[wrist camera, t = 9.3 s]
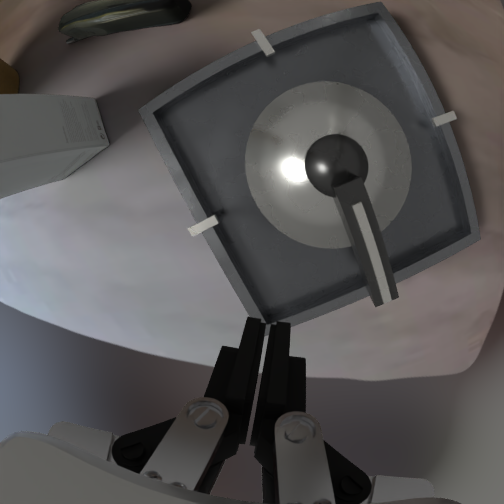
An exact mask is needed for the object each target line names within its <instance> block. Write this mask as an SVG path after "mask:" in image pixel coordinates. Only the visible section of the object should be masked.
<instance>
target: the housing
mask: <svg viewBox="0 0 504 504" xmlns="http://www.w3.org/2000/svg"><path fill="white" fill-rule="evenodd" d="M251 34H252V35H253V37H254V38H255V40H256V41H255V42H252V43H250V44H248V45H246V46H244V47H242V48H240V49H238V50H235V51H233V52H231V53H229V54H227V55H226V56H224V57H222V58H220V59H218V60H216V61H214V62H212V63H211V64H209V65H207V66H205V67H203V68H202V69H200V70H198V71H196V72H195V73H193V74H191V75H190V76H188V77H186V78H185V79H183V80H182V81H180V82H178V83H177V84H175V85H174V86H172V87H171V88H169V89H167V90H166V91H164V92H163V93H161V94H160V95H159V96H157V97H156V98H154V99H153V100H151V101H150V102H148V103H147V104H146V105H144V106H143V107H142V108H140V109H139V110H138V111H139V113H140V115H141V117H142V119H143V121H144V123H145V125H146V127H147V129H148V131H149V133H150V135H151V137H152V139H153V141H154V143H155V145H156V147H157V149H158V151H159V153H160V155H161V157H162V159H163V161H164V163H165V164H166V166H167V168H168V170H169V172H170V174H171V176H172V178H173V180H174V182H175V184H176V186H177V187H178V189H179V191H180V193H181V195H182V197H183V199H184V201H185V202H186V204H187V206H188V208H189V210H190V212H191V214H192V215H193V217H194V219H195V221H196V223H197V224H195V225H194V226H192V227H190V228H188V230H189V231H190V233H191V235H192V237H193V236H195V235H197V234H199V233H201V232H202V234H203V236H204V237H205V239H206V241H207V243H208V245H209V246H210V248H211V250H212V252H213V253H214V255H215V257H216V259H217V261H218V262H219V264H220V266H221V268H222V269H223V271H224V273H225V275H226V276H227V278H228V280H229V282H230V283H231V285H232V287H233V289H234V290H235V292H236V294H237V296H238V297H239V299H240V301H241V302H242V304H243V306H244V308H245V309H246V311H247V313H248V314H249V316H250V317H253V318H260V319H261V322H262V323H266V329H265V335H264V336H267V335H269V332H270V326H271V324H275V325H276V322H277V321H280V322H288V323H291V327H292V326H295V325H298V324H300V323H303V322H306V321H308V320H311V319H314V318H316V317H319V316H321V315H324V314H326V313H329V312H331V311H334V310H336V309H339V308H341V307H344V306H346V305H349V304H351V303H353V302H356V301H358V300H360V299H363V298H365V297H367V296H370V295H369V293H368V291H367V289H366V287H365V285H364V281H363V278H362V275H361V272H360V269H359V266H358V263H357V260H356V258H355V255H354V252H353V249H352V246H350V247H345V248H336V249H328V248H318V247H313V246H309V245H306V244H303V243H300V242H298V241H296V240H293V239H291V238H290V237H288V236H286V235H285V234H283V233H282V232H280V231H279V230H278V229H277V228H276V227H274V226H273V225H272V224H271V223H270V222H269V221H268V220H267V219H266V217H265V216H264V215H263V213H262V212H261V211H260V209H259V208H258V206H257V204H256V202H255V201H254V199H253V196H252V194H251V191H250V189H249V185H248V181H247V177H246V169H245V154H246V147H247V142H248V139H249V135H250V132H251V130H252V128H253V126H254V123H255V122H256V120H257V119H258V117H259V115H260V114H261V113H262V111H263V110H264V109H265V108H266V107H267V105H269V104H270V103H271V102H272V101H273V100H274V99H275V98H277V97H278V96H280V95H281V94H283V93H284V92H286V91H288V90H290V89H292V88H294V87H297V86H300V85H303V84H306V83H312V82H323V81H330V82H339V83H344V84H348V85H351V86H354V87H356V88H359V89H361V90H363V91H365V92H367V93H369V94H371V95H372V96H373V97H375V98H376V99H378V100H379V101H380V102H381V103H382V104H383V105H385V106H386V107H387V108H388V109H389V111H390V112H391V113H392V114H393V115H394V117H395V118H396V120H397V121H398V123H399V124H400V126H401V128H402V130H403V132H404V134H405V136H406V139H407V142H408V145H409V149H410V154H411V163H412V173H411V182H410V187H409V191H408V194H407V197H406V200H405V202H404V204H403V206H402V208H401V210H400V211H399V213H398V214H397V216H396V217H395V218H394V220H393V221H392V222H391V223H390V224H389V225H388V226H387V227H386V228H385V229H384V230H383V231H381V234H382V237H383V240H384V244H385V247H386V250H387V254H388V257H389V261H390V264H391V268H392V272H393V276H394V279H395V283H398V282H400V281H402V280H404V279H407V278H409V277H411V276H413V275H415V274H417V273H419V272H421V271H423V270H425V269H427V268H429V267H431V266H433V265H435V264H437V263H439V262H441V261H442V260H444V259H446V258H448V257H450V256H452V255H454V254H456V253H457V252H459V251H461V250H463V249H465V248H466V247H468V246H470V245H472V244H473V243H475V242H477V241H479V240H480V239H481V238H480V232H479V226H478V220H477V215H476V210H475V206H474V201H473V197H472V193H471V188H470V185H469V181H468V177H467V173H466V170H465V167H464V163H463V160H462V157H461V154H460V151H459V148H458V145H457V142H456V139H455V136H454V134H453V131H452V128H451V126H450V123H449V122H450V121H453V120H455V119H457V118H456V115H455V113H454V111H450V112H447V113H445V111H444V109H443V106H442V104H441V102H440V99H439V97H438V95H437V93H436V91H435V89H434V87H433V85H432V83H431V81H430V79H429V77H428V75H427V73H426V71H425V69H424V67H423V65H422V63H421V62H420V60H419V58H418V56H417V55H416V53H415V51H414V49H413V48H412V46H411V44H410V43H409V41H408V40H407V38H406V36H405V35H404V33H403V32H402V30H401V29H400V27H399V26H398V24H397V23H396V21H395V20H394V19H393V17H392V16H391V14H390V13H389V12H388V10H387V9H386V7H385V6H384V5H383V3H382V2H376V3H371V4H366V5H362V6H357V7H353V8H349V9H345V10H341V11H338V12H334V13H330V14H327V15H324V16H320V17H317V18H314V19H311V20H308V21H305V22H302V23H299V24H297V25H294V26H291V27H288V28H286V29H283V30H281V31H278V32H276V33H273V34H271V35H268V36H266V37H265V36H264V34H263V33H262V32H261V30H260V29H258V30H255V31H253V32H251Z"/></svg>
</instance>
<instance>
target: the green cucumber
mask: <svg viewBox="0 0 504 504" xmlns="http://www.w3.org/2000/svg"><path fill="white" fill-rule="evenodd" d="M190 10H191V3H190V2H189V1H188V0H98V1H92V2H87V3H84V4H81V5H79V6H77V7H75V8H74V9H73V10H71V11H70V12H68V13H66V14H65V15H63V16H62V18H61V21H60V24H59V32H61V33H63V34H65V35H68V36H71V37H72V38H69V39H68V40H67V41H66V42H67V44H70V43H73V42H75V41H78V40H80V39H84V38H87V37H91V36H103V35H108V34H112V33H117V32H121V31H129V30H136V29H142V28H148V27H157V26H166V25H172V24H177V23H180V22H181V21H183V20H184V19H185V18H186V17H187V16H188V14H189V12H190Z"/></svg>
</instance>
